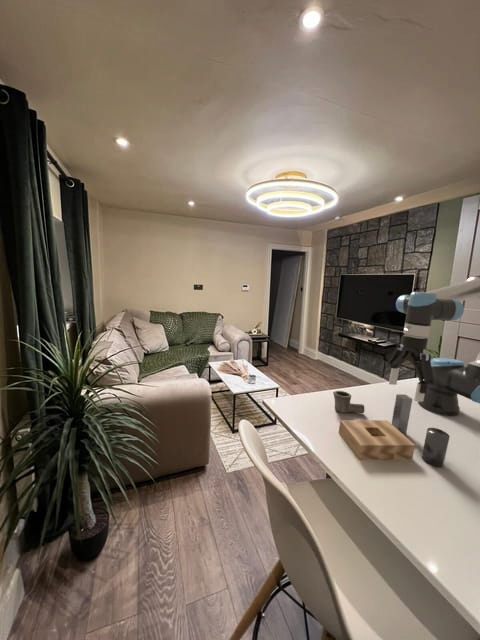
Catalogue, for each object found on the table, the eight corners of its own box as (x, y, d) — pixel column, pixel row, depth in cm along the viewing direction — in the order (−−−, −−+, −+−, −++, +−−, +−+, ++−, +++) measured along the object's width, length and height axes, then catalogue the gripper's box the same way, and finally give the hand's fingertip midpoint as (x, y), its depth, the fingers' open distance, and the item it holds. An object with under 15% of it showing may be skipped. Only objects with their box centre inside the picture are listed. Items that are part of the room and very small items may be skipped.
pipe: (364, 417, 107) (367, 399, 105) (332, 413, 109) (334, 395, 108) (361, 410, 113) (363, 393, 111) (330, 406, 115) (332, 389, 114)
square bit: (399, 428, 100) (405, 394, 98) (406, 434, 97) (412, 399, 94) (390, 428, 100) (396, 394, 98) (397, 433, 97) (403, 399, 94)
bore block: (385, 432, 97) (387, 420, 96) (412, 459, 83) (415, 445, 82) (338, 432, 95) (340, 420, 94) (358, 459, 82) (360, 445, 81)
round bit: (433, 455, 86) (439, 427, 84) (447, 467, 80) (454, 438, 79) (417, 455, 85) (422, 427, 84) (431, 467, 80) (437, 438, 78)
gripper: (383, 328, 104) (375, 378, 107) (434, 345, 79) (421, 409, 83) (400, 328, 104) (392, 378, 108) (456, 346, 80) (442, 409, 84)
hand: (404, 392), depth 96 cm, fingers open, 13 cm apart
